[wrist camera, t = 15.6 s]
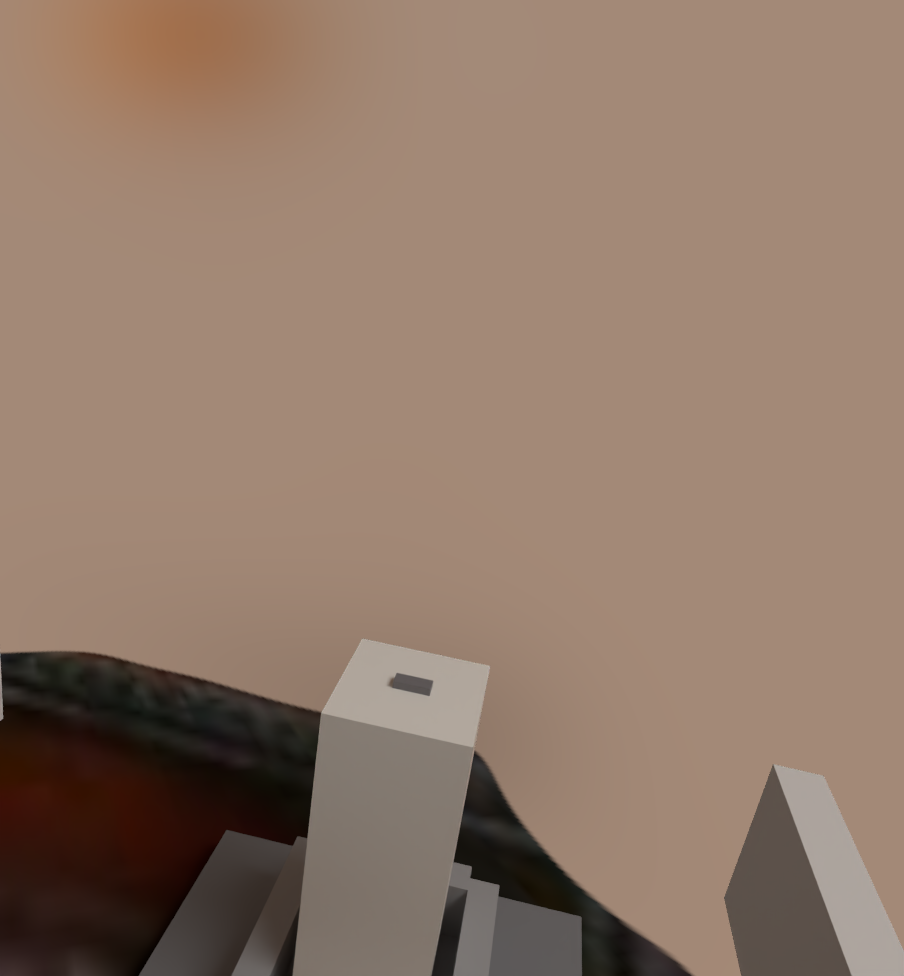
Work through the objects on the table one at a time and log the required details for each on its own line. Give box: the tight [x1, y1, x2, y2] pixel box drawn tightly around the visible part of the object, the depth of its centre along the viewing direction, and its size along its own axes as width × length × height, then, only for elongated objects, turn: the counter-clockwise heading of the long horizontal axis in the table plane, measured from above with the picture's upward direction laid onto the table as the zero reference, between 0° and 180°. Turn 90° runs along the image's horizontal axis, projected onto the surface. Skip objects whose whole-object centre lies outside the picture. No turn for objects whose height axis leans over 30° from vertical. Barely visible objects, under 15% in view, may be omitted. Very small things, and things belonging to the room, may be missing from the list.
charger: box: [293, 639, 490, 976], centre depth 26 cm, size 4×4×13 cm
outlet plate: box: [139, 830, 582, 976], centre depth 28 cm, size 16×11×4 cm
